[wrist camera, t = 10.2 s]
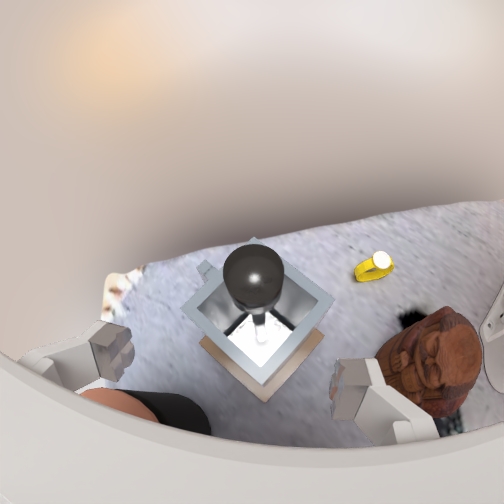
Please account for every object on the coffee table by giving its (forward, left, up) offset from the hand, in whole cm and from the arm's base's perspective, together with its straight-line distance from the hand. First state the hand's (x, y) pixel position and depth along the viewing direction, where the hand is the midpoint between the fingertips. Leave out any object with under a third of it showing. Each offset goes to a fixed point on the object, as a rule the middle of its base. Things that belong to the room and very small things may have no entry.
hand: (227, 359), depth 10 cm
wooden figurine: (-13, +15, -29) cm, 35 cm away
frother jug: (-5, -3, -28) cm, 29 cm away
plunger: (-5, -3, -25) cm, 26 cm away
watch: (-23, +3, -29) cm, 37 cm away
